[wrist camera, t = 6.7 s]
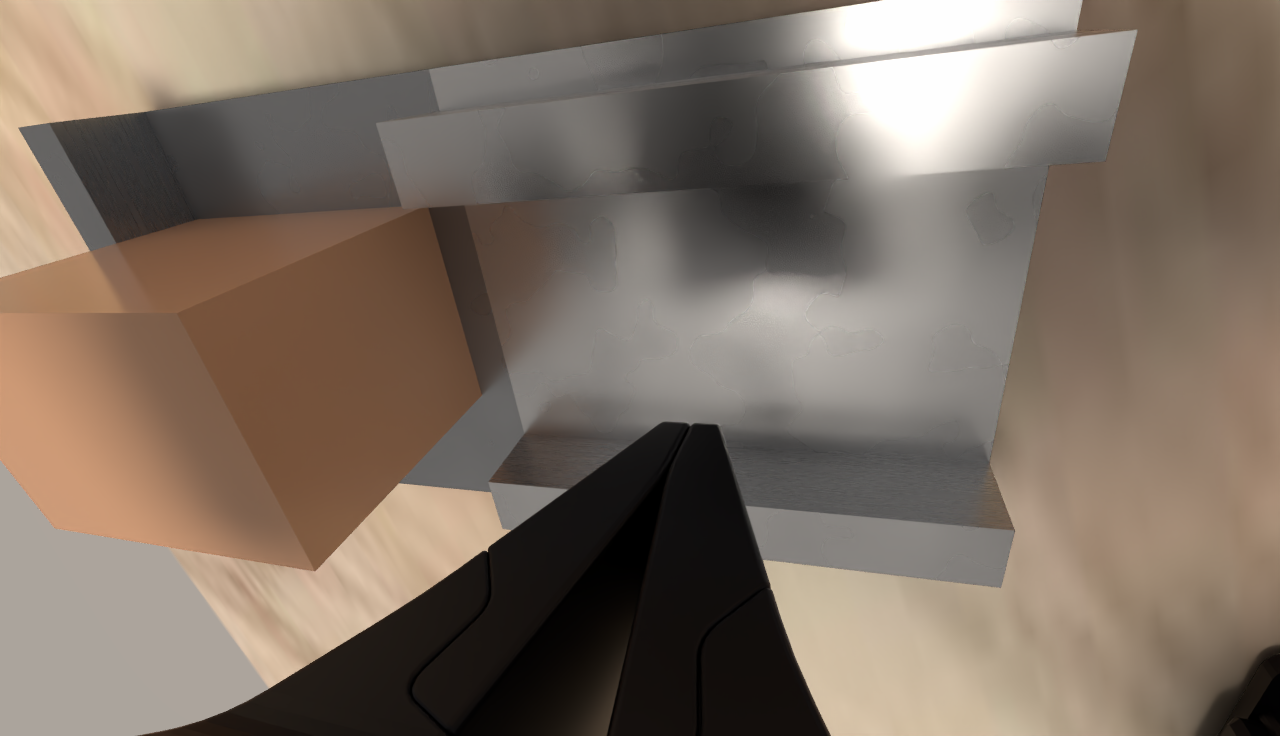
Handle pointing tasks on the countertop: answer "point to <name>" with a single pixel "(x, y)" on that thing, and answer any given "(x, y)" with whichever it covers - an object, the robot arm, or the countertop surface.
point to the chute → (694, 246)
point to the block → (233, 380)
